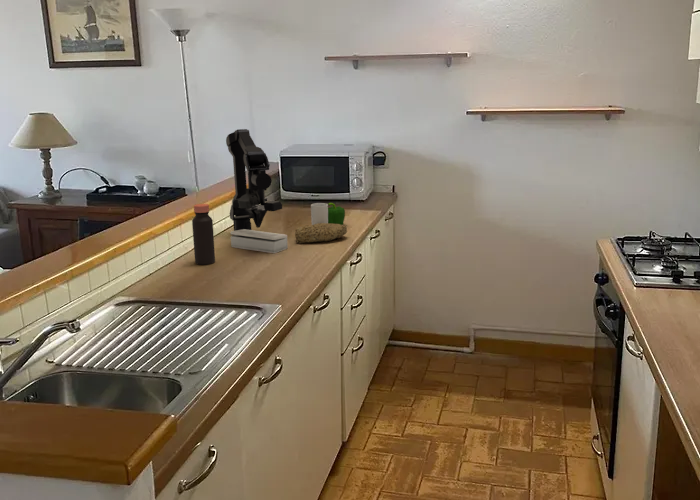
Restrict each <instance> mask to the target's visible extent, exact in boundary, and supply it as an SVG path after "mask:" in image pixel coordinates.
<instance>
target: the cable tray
mask: <svg viewBox="0 0 700 500" xmlns="http://www.w3.org/2000/svg"><path fill="white" fill-rule="evenodd" d="M230 247H232V248H236V249H242V250H251V251H256V252H257V251H258V252H263V253H270V254H277V253H279V252H282V251H284V250H287V249H288V247H289V246H288V237H287V238H282V239H277V240H270V239H263V238H256V237H248V236H241V235H234V234H233V235H231V236H230Z"/></svg>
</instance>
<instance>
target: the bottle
mask: <svg viewBox="0 0 700 500" xmlns="http://www.w3.org/2000/svg"><path fill="white" fill-rule="evenodd" d="M193 211H194V214H195V216H194V217H193V219H192V220H191V225H192V239H193V251H194V252H193V253H194V263H195V265H201V266H204V265H205V266H206V265H212V264H214V263H215V262H216V253H215V252H216V250H215V237H214V235H215V234H214V223H213V222H214V221H213V219H212V217H211V216H210V215H209V214H210V205H209V204H208V203H197V204H194V205H193Z"/></svg>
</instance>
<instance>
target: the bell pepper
mask: <svg viewBox="0 0 700 500" xmlns="http://www.w3.org/2000/svg"><path fill="white" fill-rule="evenodd" d="M328 206H330V207H328V223H329V224H330V223H331V224H340V225H343V224H344V223H345V222H344V221H345V216H346V210H345V207H341V206H339V205H338V206H336V204H335V203H333V202H329V203H328Z"/></svg>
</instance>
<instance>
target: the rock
mask: <svg viewBox="0 0 700 500" xmlns="http://www.w3.org/2000/svg"><path fill="white" fill-rule="evenodd" d="M347 232H348V227H347V226H346V225H345V224H344V225H340V224H331V223H330V224H329V223H318V224H314V225H312V224H306V225H304V226H299V227H297V228H295V232H294V236H295V237H294V238H295V240H296V242H297V243H298V244H303V243H306V244H307V243H316V242H329V241H333V240H336V239H339V238H341V237H343V236H345V235H346V234H347Z"/></svg>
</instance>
